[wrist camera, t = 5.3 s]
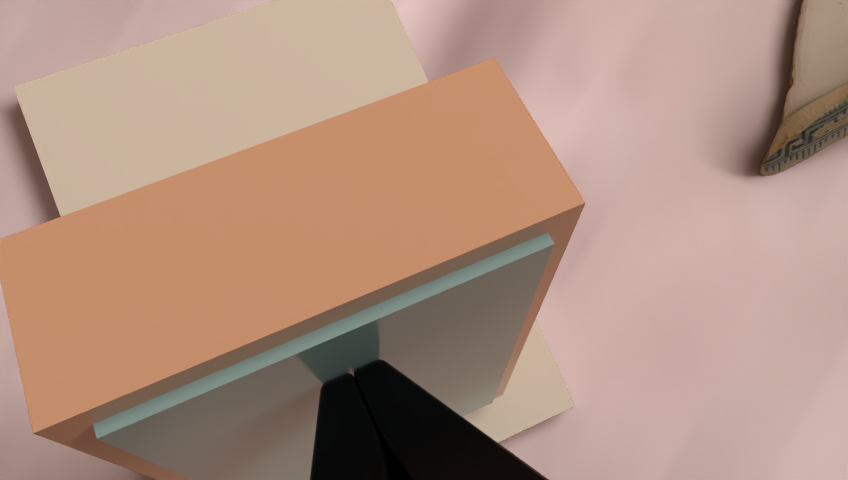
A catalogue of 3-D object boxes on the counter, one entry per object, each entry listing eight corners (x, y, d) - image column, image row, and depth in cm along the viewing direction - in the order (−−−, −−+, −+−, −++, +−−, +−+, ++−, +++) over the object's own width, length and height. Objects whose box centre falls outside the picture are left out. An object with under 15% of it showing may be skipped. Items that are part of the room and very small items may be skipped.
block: (506, 401, 16) (592, 214, 8) (248, 520, 15) (37, 449, 7) (460, 310, 17) (494, 57, 9) (215, 416, 16) (-8, 241, 8)
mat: (567, 404, 17) (575, 405, 17) (201, 578, 16) (195, 586, 15) (375, -21, 19) (376, -33, 18) (24, 97, 17) (13, 86, 17)
